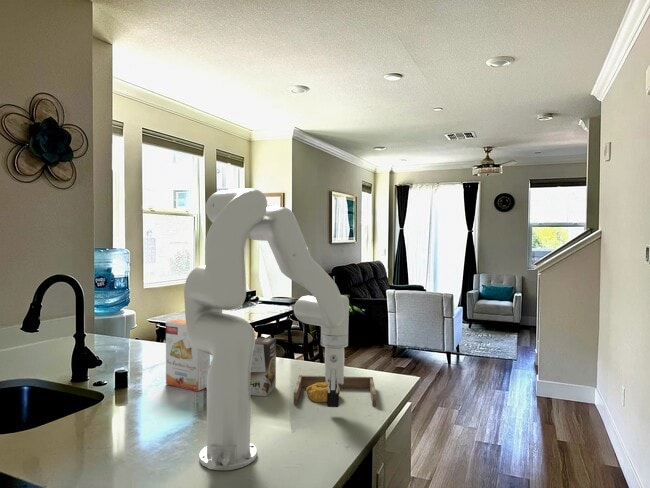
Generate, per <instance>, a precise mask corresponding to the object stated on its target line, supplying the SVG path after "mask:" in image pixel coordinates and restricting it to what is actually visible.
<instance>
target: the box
mask: <svg viewBox="0 0 650 488" xmlns="http://www.w3.org/2000/svg"><path fill="white" fill-rule="evenodd" d="M319 382H320V383H322V382H326V379H325V375H300V374H299V375H298V377H297V380H296V383H295V387H294V390H293V405H297V404H298V401H299V399H300V395H301V391H302V388H307V387H308V386H311V385H313V384H316V383H319ZM338 385H339V388H340V389H359V390H360V389H362V390H363V389H364V390H366V389H368V390H369V393H370V399H371V406H372V407H377V391H376V387H375V381H374V377H373V376H345V375H344V383H343V384H342V385H341V384H339V382H338Z"/></svg>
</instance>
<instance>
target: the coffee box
mask: <svg viewBox="0 0 650 488" xmlns="http://www.w3.org/2000/svg"><path fill="white" fill-rule="evenodd" d="M276 371H277V338H275V337H256V338H255V345H254V350H253V355H252V361H251V375H250V396H259V397H268V396H269V395H270V394H271V393H272V392H273V391H274V389H276V385H277V383H276V381H277V378H276V377H277V372H276Z"/></svg>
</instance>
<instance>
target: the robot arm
mask: <svg viewBox="0 0 650 488" xmlns="http://www.w3.org/2000/svg"><path fill="white" fill-rule="evenodd" d="M205 213H206V216H207V218H208V219H209V221H210V222H211V225H210V227H209V229H208V231H207V233H206V238H205V245H204V252H205V253H204V264H203V265H198V266H197V267H195V268H193V269H192V270H191V271H190V273H189V274H188V275H187V277H186V279H185V283H184V288H183V299H184V300H183V301H184V313H185V314H184V315H185V316H184V317H185V320H186V331H187V336H188V339H189V342H190V343H191V345H192V346H193V347H194V348H196V349H198V350H200V351H202V352H205V353H208V354H210V356H212V359H211V361H210V367H209V370H208V374H207V388H206V445H205V447H203V448H202V449H201V450H200V452H199V454H198V455H199V458H198V460H199V463H200V464H201V465H202V466H203V467H205V468H208V469H209V470H214V471H233V470H238V469H241V468H242V469H243V468H244V467H246V466H249V465H250V464H251V463H253V462H254V461H255V460H256V458H257V456H258V449H257V446H256V445H255V444H254V443H251V395H250V375H251V361H252V355H253V350H254V345H255V339H256V334H255V330H254V328H253V326H252V324H250V322H248V320H246V319H245V318H242V317H240V316H237V315H233V314H229V313H223V311H233V310H236V309H239V308H240V307H241V306H243V304H244V302H245V300H246V297H247V278H246V275H247V274H246V260H245V255H246V253H245V252H246V250H245V249H246V244H247V240H248V239H250V240H254V241H259V242H260V241H261V242H262V241H264V242H265V241H267V243H268V246H269V247H270V250H271V252H272V255H273V256H274V258H275V259H274V260H275V262H276V263H277V266H278V267H279V270H280V272H281V273H282V274H283V275H284V276H285V277H287V278H288V279H289V280H291V281H292V282H294V283H296V284H298V285H299V286H301V287H302V288H305V289H306V291H308V292H309V293H310V294H311V295H303V296H301V297H300V298H298V299H297V300H296V302H295V303H294V307H293V313H294V316H295V318H297V320H298V321H300V322H302V323H304V324H306V325H311V326H319V327H320V346H321V347H324V376H325V379H326V383H327V384H328V391H327V402H326V406H327V407H328V408H339V405H340V404H339V402H340V398H339V397H340V394H339V391H338V382H339V384H341V385H342V384H343V383H344V376H345V348H347V347H348V346H349V319H350V318H349V316H350V312H349V311H350V310H349V309H350V300H349V297H348V296H346V295H345V294H344V295H343V294H341V292H340V290H339V287H338V285H337V283H336V282H335V280H334V279H333V278H332V277H331V276H330V275H329V274H328V273H327V272H326V270H325V269H323V267H322V266H321V265H320V264H319V263H317V262H316V261H315V260H314V258H313V257H312V255H311V252H310V249H309V248H308V245H307V243H306V241H305V237H304V234H303V233H302V231H301V230H302V229H301V227H300V225H299V223H298V219H297V218H296V215H295V214H294V212H293V211H292V210H291V209H289V208H287V207H284V206H268V201H267V197H266V195H265V194H264V193H263V192H262V191H260V190H258V189H256V188H251V187H250V188H247V187H246V188H234V189H227V190H220V191H219V190H218V191H217V192H214V193H212V194H211V195H210V196H209V197H208V199H207V201H206V203H205Z"/></svg>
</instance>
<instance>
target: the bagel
mask: <svg viewBox="0 0 650 488" xmlns="http://www.w3.org/2000/svg"><path fill="white" fill-rule="evenodd" d="M305 391H306V394H307V395H308V398H309V399H310V401H312V402H314V403H327V391H328V384H327V383H326V382H322V383H320V382H319V383H316V384H313V385H311V386H308V387H305ZM338 391H339V395H340V393H341V388H339V385H338Z"/></svg>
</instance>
